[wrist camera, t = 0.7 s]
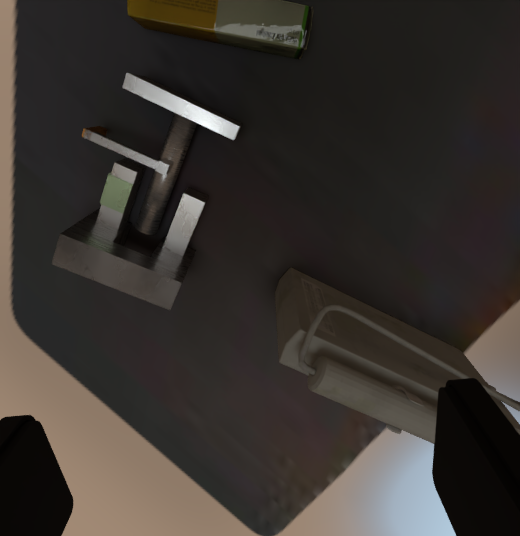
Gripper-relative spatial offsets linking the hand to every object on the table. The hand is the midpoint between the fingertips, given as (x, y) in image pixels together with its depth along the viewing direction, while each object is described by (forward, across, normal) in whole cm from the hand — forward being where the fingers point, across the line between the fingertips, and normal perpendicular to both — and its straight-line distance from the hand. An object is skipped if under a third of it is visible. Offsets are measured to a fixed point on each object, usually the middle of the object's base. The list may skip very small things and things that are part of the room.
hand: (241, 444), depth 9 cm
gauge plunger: (+26, +8, -4) cm, 27 cm away
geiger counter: (+27, -12, +14) cm, 32 cm away
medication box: (+27, +1, -13) cm, 30 cm away
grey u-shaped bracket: (+26, +9, +1) cm, 28 cm away
